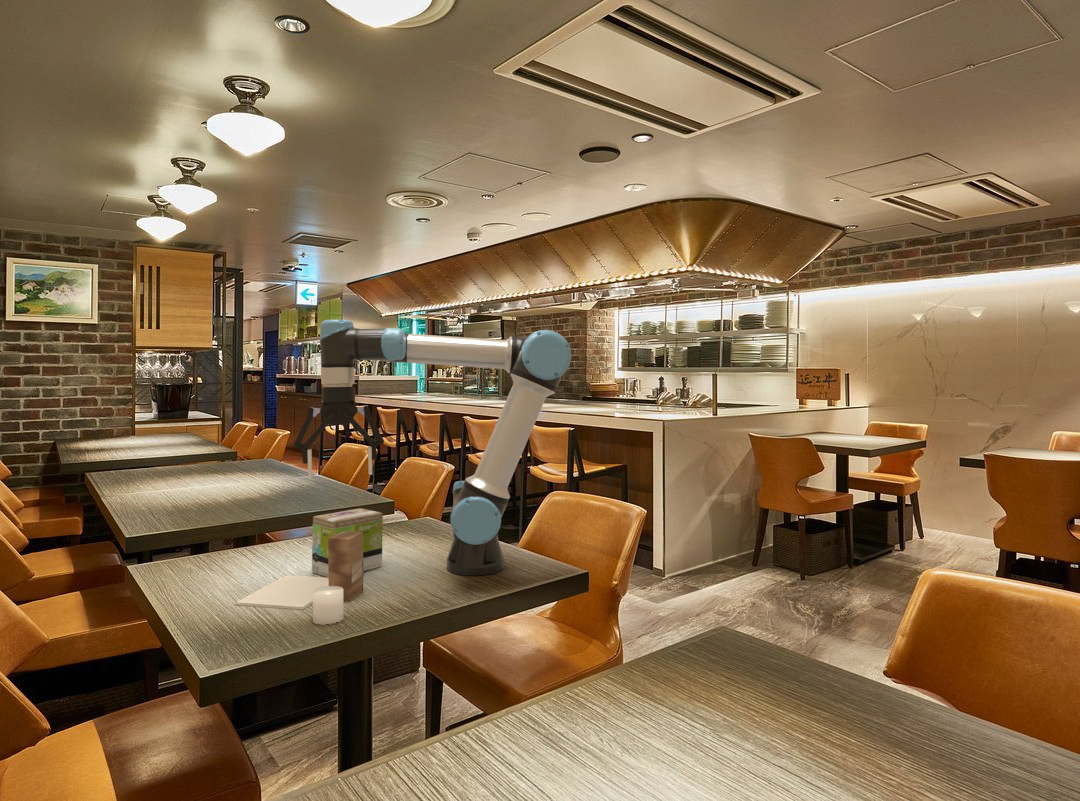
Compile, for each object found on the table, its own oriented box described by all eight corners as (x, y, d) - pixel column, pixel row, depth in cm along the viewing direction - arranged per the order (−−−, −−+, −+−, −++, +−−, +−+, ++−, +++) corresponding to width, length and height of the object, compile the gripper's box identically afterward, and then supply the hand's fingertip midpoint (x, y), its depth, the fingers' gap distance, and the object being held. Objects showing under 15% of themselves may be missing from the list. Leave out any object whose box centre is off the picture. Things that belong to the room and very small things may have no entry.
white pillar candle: (348, 615, 136) (348, 586, 136) (334, 625, 130) (334, 596, 130) (322, 613, 137) (322, 585, 137) (307, 623, 131) (307, 594, 131)
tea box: (335, 580, 159) (334, 521, 159) (311, 573, 166) (310, 515, 165) (383, 566, 171) (383, 511, 171) (359, 560, 177) (359, 506, 177)
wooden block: (364, 591, 151) (363, 532, 151) (350, 601, 144) (349, 539, 144) (343, 590, 152) (343, 531, 152) (328, 600, 145) (328, 538, 145)
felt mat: (346, 581, 159) (346, 578, 159) (303, 609, 139) (302, 607, 139) (286, 577, 162) (286, 575, 162) (235, 605, 142) (235, 602, 142)
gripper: (391, 384, 160) (393, 470, 161) (283, 386, 153) (285, 476, 154) (393, 385, 153) (395, 474, 154) (279, 387, 146) (282, 481, 146)
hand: (340, 475), depth 154 cm, fingers open, 13 cm apart
